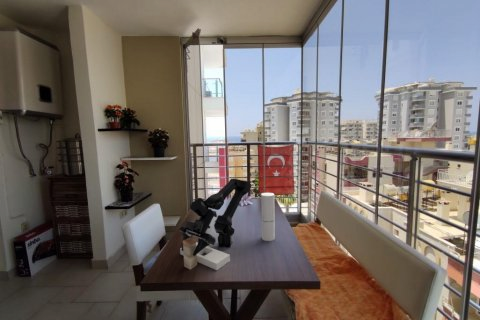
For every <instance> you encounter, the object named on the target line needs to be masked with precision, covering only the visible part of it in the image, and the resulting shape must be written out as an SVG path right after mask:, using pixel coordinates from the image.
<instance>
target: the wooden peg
mask: <svg viewBox="0 0 480 320" xmlns="http://www.w3.org/2000/svg"><path fill="white" fill-rule="evenodd" d="M196 242H197V239H195V238H193V237H191V238H188V239H186V240H184V241H183V240H182V243H183V252H184V256H183V265H184V266H183V267H185V268H187V269H189V270H192V269H193V268H195V267H197V266H198V262H197V254H196V255H195V256H193V252H194V250H195V248H196Z"/></svg>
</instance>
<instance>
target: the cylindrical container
mask: <svg viewBox="0 0 480 320" xmlns="http://www.w3.org/2000/svg"><path fill="white" fill-rule="evenodd" d="M260 194H261V195H260V201H261V203H260V204H261V206H260V207H261V208H260V209H261V210H260V211H261V240H262V241H264V242H272V241H275V238H276V237H275V236H276V235H275V234H276V233H275V232H276V230H275V229H276V228H275V227H276V226H275V224H276V222H275V218H276V217H275V214H276V212H275V210H276V209H275V193H273V192H262V193H260Z"/></svg>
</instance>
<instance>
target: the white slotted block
mask: <svg viewBox="0 0 480 320" xmlns="http://www.w3.org/2000/svg"><path fill="white" fill-rule="evenodd" d="M197 244H198V241H196V246H197ZM179 249H180V250H179V253H180V255H181V256H183V257H184V252H183V251H181V249H182V247H181V248H179ZM203 254H205V255H203ZM230 261H231V255H230V254H229V253H226V252H224V251H221V250H218V249H216V248H212V247H211V246H207V247H205V248H204V249H202V250H201V251H200V252H199V253H198V254H197V263H199V264H202V265H204V266H205V267H209V268H211V269H212V270H215V271H218V270H220V269H221V268H222V267H224V266H226V264H228V263H230Z"/></svg>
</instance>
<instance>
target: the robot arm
mask: <svg viewBox="0 0 480 320" xmlns="http://www.w3.org/2000/svg"><path fill="white" fill-rule="evenodd" d="M251 187H252V184H251V182H250V181H249V180H243V179H238V178H230V179H229V180H228V182H227V183H226V184H225V185H224V186H223V187H222V188H221V189H220V190H219V191H218V192H216V193H213V194H211V195H210V196H208V197H207V198H206V199H205V200H204V198H202V197H198V198H197V199H195V200H194V201H192V202H191V204H190V205H189V209H190V211H192V212H193V213H194V214H196V215H197V216H198V218H197V219H195V221H193V220H186V222H185V223H184V224H185V225H182V226H181V227H180V228H179V232H181V234H182V236H183V238H182V243H181V244H182V245H181V248H182V249H181V251H183V241H184V240H186V239H188V238H192V237H196V238H197V243H198V244H197V246H196V248H195V250H194V252H193V256H195V255H196V254H198V253H199V252H200V251H201V250H202V249H204V248H205V247H207V246H208V247H210V245H212V246H215V244H216V242H217V244H218V246H217V248H231V246H232V245H233V242H234V241H233V239H232V236H233V235H234V234H235V229H234V227H233V220H232V219H233V217H234V215H235V213H236V211H237V209H238V207H239V205H240V204H241V202H242V201H241V199H242V197H243V196H244V195H245V194H247V193H248V194H249V191H250V190H251ZM233 191H234V193H233ZM232 193H233V195H232V197H231V199H230V201H229V202H228V205H227V206H226V208H225V210H224V212H223V214H222V215H221V214H217V211H219V210H220V209H221V208H222V207H223V205H224V204H225V200H226V199H227V197H228V196H229V195H231V194H232ZM215 210H216V211H215ZM214 217H215V218H216V219H215V221H214V224H213V227H214V230H215V232H216V234H218V236H217V241H216V237H214V236H213V235H212V234H210V233H208V232H207V230H208V229H211V223H212V221H213V219H214Z"/></svg>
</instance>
